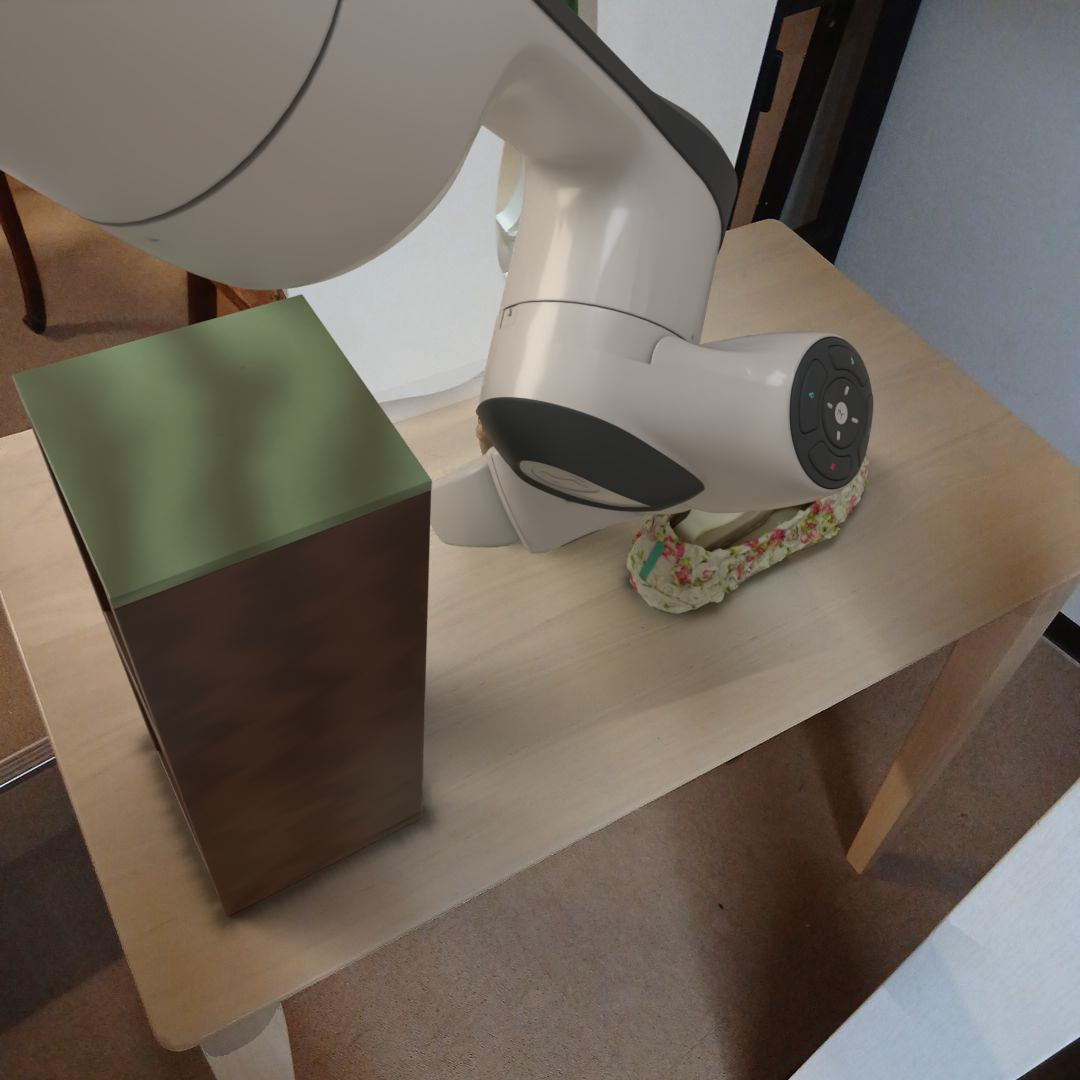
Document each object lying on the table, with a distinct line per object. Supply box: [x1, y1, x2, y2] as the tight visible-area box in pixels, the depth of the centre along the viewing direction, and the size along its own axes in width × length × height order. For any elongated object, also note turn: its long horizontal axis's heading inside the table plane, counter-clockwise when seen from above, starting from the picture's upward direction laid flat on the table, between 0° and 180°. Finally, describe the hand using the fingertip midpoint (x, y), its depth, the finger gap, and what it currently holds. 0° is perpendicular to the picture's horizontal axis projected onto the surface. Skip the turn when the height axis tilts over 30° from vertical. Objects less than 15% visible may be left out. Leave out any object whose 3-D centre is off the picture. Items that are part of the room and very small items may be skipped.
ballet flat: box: [625, 454, 870, 615], centre depth 77 cm, size 9×25×8 cm, turn 134°
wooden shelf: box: [11, 294, 433, 917], centre depth 52 cm, size 12×12×30 cm
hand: (511, 454), depth 73 cm, fingers open, 6 cm apart
